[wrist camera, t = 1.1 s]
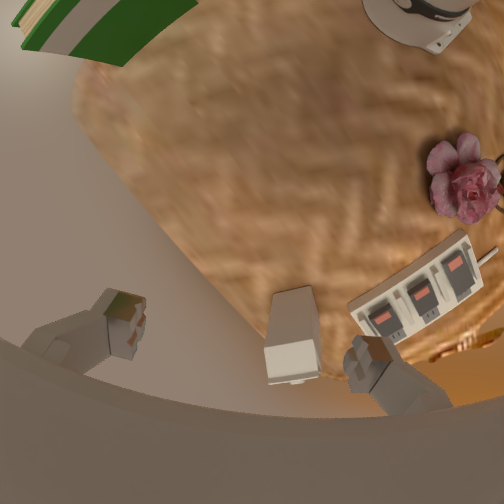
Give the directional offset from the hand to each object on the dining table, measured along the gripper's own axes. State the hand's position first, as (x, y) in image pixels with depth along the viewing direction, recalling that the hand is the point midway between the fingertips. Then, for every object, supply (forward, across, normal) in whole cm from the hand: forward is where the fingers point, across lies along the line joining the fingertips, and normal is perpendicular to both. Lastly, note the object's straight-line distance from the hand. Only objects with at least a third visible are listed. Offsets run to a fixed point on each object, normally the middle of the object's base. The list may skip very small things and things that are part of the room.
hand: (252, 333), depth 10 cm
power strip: (+32, -38, +9) cm, 51 cm away
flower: (+33, -33, -11) cm, 48 cm away
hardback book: (+41, +24, -25) cm, 54 cm away
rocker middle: (+29, -33, +11) cm, 46 cm away
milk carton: (+37, -14, +21) cm, 45 cm away
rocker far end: (+30, -29, +17) cm, 45 cm away
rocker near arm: (+28, -39, +5) cm, 48 cm away
